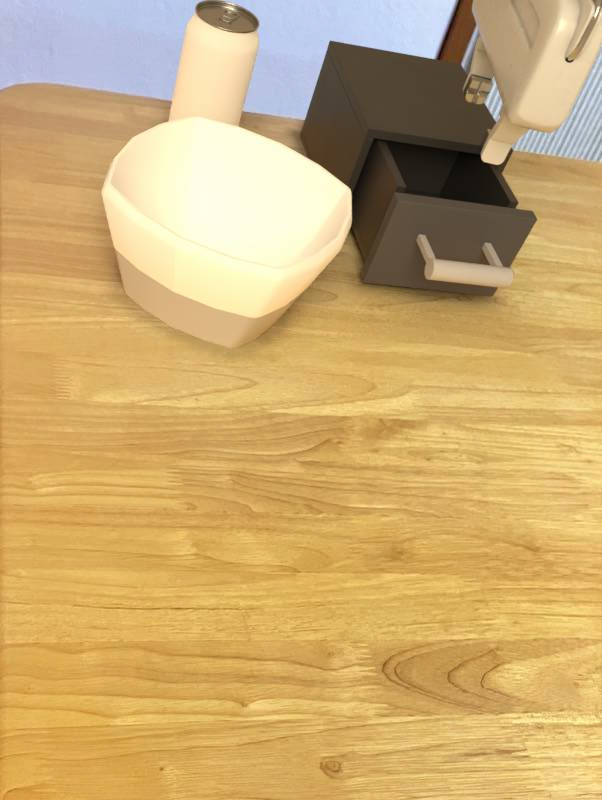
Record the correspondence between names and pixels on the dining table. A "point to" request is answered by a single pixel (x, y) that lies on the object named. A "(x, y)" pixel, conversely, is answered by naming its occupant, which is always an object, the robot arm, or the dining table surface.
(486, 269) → the drawer
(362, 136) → the cabinet
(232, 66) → the can
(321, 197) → the bowl
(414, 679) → the dining table surface
